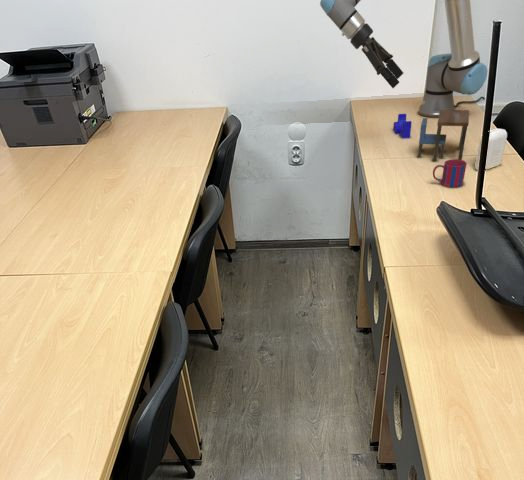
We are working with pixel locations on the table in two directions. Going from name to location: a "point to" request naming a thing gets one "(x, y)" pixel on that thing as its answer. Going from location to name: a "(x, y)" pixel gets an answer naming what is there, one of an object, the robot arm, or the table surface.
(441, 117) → the desk
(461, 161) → the mug
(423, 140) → the chair
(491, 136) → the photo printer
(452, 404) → the table surface
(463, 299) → the table surface
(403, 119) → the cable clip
